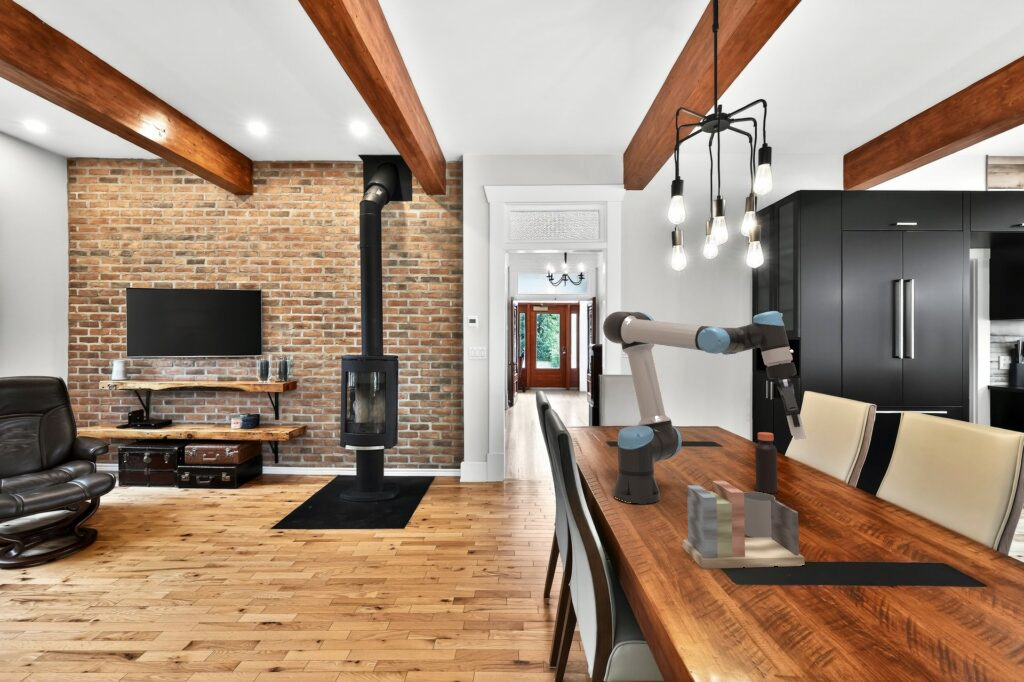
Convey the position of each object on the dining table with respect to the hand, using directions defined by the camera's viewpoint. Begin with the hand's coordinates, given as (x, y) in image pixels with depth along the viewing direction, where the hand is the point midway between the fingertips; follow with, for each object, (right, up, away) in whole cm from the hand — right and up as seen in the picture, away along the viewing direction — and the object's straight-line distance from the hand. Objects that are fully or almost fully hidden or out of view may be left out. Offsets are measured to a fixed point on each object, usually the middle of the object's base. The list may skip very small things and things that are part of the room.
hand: (798, 437), depth 141 cm
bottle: (+7, -25, +32) cm, 41 cm away
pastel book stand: (-26, -25, -21) cm, 41 cm away
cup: (-14, -25, -6) cm, 30 cm away
